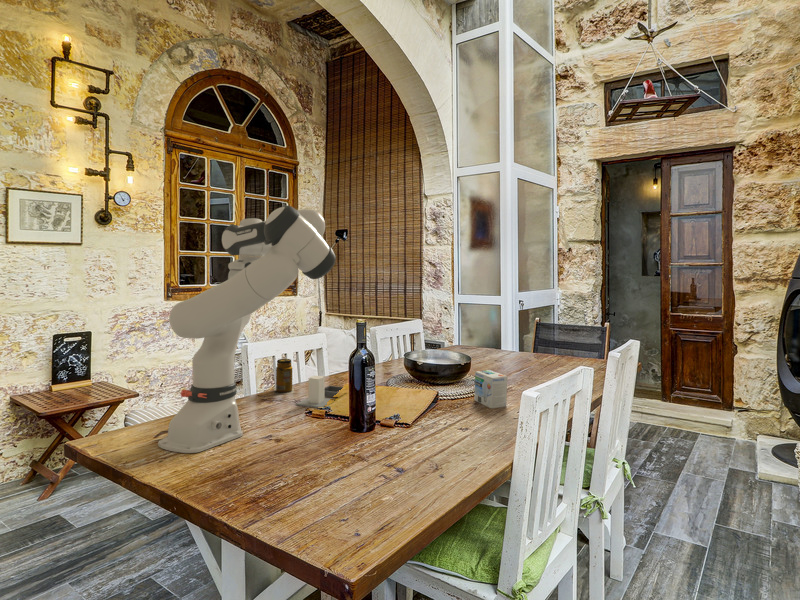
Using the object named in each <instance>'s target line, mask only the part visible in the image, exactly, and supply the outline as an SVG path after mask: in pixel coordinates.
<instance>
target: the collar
mask: <svg viewBox="0 0 800 600" xmlns="http://www.w3.org/2000/svg"><path fill="white" fill-rule="evenodd" d="M343 387H344V386H338V385H327V386H326V387H325V398H333V396H334V395H336V394H337V393H338V392H339V390H341V389H342V388H343ZM337 391H338V392H337Z"/></svg>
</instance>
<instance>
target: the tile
mask: <svg viewBox="0 0 800 600" xmlns="http://www.w3.org/2000/svg"><path fill="white" fill-rule="evenodd" d="M330 399H332V397H325V401H323V402H321V403H319V404H318V403H311V402H309V397H307V398H304V399H303V400H300V401H298V402H297V403H295V405H296V406H300V407H307V408H313V409H319V408H318V407H324V406H325V405H327V402H328V401H329V400H330ZM324 408H325V407H324Z"/></svg>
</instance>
